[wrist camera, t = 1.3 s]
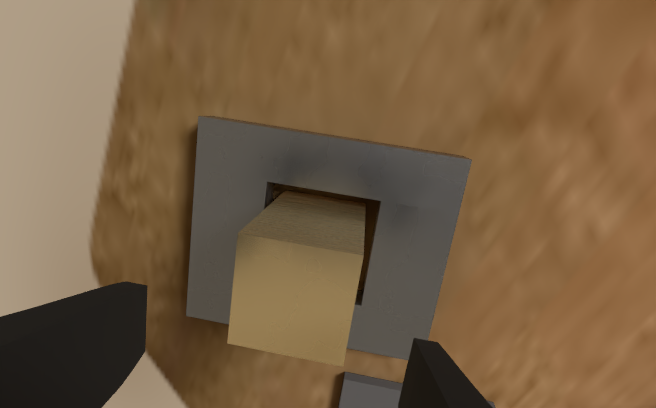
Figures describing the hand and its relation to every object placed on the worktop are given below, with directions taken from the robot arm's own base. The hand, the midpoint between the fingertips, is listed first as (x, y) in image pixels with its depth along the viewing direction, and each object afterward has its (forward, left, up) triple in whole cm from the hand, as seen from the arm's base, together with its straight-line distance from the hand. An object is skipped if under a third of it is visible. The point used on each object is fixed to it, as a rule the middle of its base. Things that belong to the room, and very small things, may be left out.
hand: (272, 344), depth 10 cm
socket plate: (0, 0, -9) cm, 9 cm away
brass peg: (0, 0, -9) cm, 9 cm away
